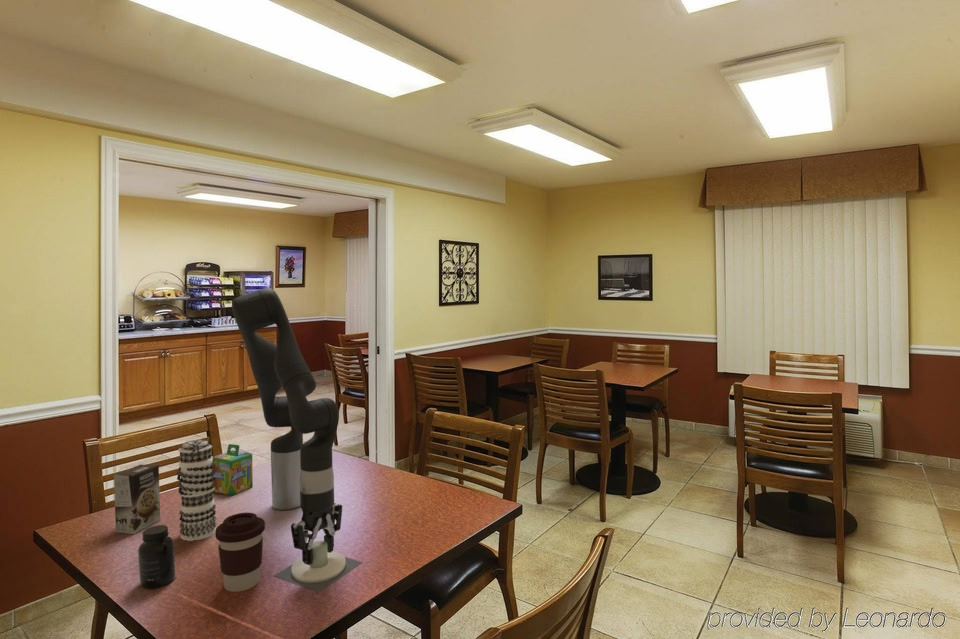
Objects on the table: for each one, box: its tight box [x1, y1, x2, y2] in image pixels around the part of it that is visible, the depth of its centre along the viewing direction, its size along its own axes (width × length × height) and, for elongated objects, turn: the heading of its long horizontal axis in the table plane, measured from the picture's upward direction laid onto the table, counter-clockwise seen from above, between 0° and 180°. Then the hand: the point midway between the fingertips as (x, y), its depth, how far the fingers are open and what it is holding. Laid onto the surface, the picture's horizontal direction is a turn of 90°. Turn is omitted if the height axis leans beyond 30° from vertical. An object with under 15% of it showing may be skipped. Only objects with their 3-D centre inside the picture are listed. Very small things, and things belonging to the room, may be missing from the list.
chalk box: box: [212, 443, 254, 497], centre depth 172 cm, size 9×9×15 cm
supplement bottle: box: [137, 524, 176, 590], centre depth 117 cm, size 7×7×12 cm
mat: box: [273, 556, 364, 593], centre depth 121 cm, size 14×14×1 cm
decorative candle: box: [176, 439, 217, 542], centre depth 140 cm, size 9×9×25 cm
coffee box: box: [113, 464, 161, 535], centre depth 145 cm, size 9×6×16 cm
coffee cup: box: [214, 512, 266, 593], centre depth 116 cm, size 10×10×15 cm
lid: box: [291, 540, 346, 583], centre depth 121 cm, size 12×12×6 cm
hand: (318, 557), depth 121 cm, fingers open, 5 cm apart
